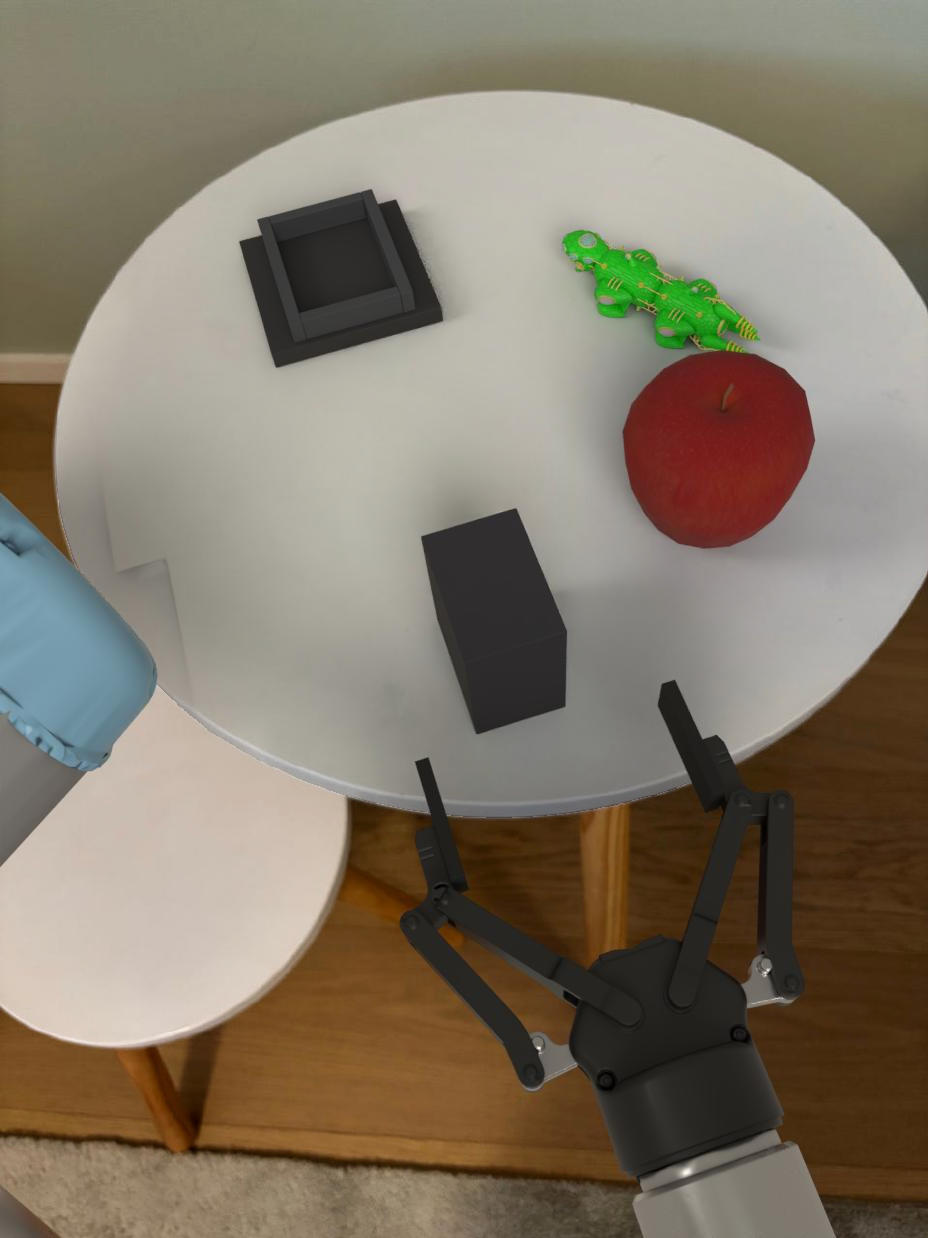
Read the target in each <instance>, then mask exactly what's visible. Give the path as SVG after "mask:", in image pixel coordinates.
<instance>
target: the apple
mask: <svg viewBox="0 0 928 1238" xmlns="http://www.w3.org/2000/svg"><path fill="white" fill-rule="evenodd" d="M621 433H622V443H623V451H624V452H623V454H624V463H625V467H626V472H627V477H628V482H629V486H630V489H631V491H632V494H633V495H634V497H635V499H636V501H637V502H638V504H639V507H640V508H641V510H642V512H643V514H644V515H645V516H646V518H648V520H649V521H650V523H652V525H653V526H654V527H655V528H656V530H657V531H658V532H660V533H662V534H663V535H664V536H665V537H667V538H669V539H670V540H671V541H673V542H674V543H676V544H678V545H681V546H687V547H692V548H693V547H694V548H698V549H718V548H729V547H732V546H734V545H736V544H739V543H741V542H744V541H746V540H748V539H750V538H752V537H754V536H755V535H756V534H758V533H759V532H760V531H761V530H763V529H764V528H765V527H767V526H768V525H769V524H771V523H772V522H773V521H775V519H776V518H777V517H778V515H779V514H780V512H781V511H782V510H783V508H784V507H785V506H786V505H787V503H788V502H789V500H790V499H791V498H792V496H793V494H794V493H795V491H796V489H797V487H798V485H800V482H801V481H802V480H803V479H802V478H803V477H804V475H805V474H806V471H807V470H808V467H809V463H810V461H811V457H812V453H813V450H814V446H815V442H816V436H815V431H814V425H813V420H812V414H811V411H810V406H809V401H808V397H807V393H806V390H805V389H804V387H802V386H801V385H800V383H799V382H798V381H797V380H796V379H795V378H794V377H793V376H792V375H791V374H790V373H789V371H787V369H785V368H784V367H782V366H780V365H778V364H776V363H774V362H772V361H770V360H768V359H766V358H764V357H762V356H760V355H759V354H756V353H749V352H747V353H743V352H734V351H726V350H719V351H714V350H711V351H706V352H699V353H698V352H697V353H692V354H689V355H687V356H685V357H683V358H681V359H679V360H677V361H675V362H673V363H671V364H670V365H668V366H666V367H664V368H663V369H661V370H660V372H658V373H657V374H656V375H655V376H654V377H653V378H652V380H650V381H649V382H648V383H647V384H646V385H645V386H644V388H643V389H642V390H641V391H640V392H639V394H638V395H637V397H636V398H635V399H634V400H633V401H632V403H631V404H630V408H629V410H628V413H627V417H626V419H625V422H624V425H623V428H622V432H621Z"/></svg>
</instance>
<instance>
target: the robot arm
mask: <svg viewBox="0 0 928 1238" xmlns="http://www.w3.org/2000/svg"><path fill="white" fill-rule="evenodd" d="M157 682H158V669H157V664H156V661H155V658H154V657H153V655H152V652H151V651H150V650H149V647H148V646H147V644H145V642H144V641H143V640H142V638H141V637H140V636H139V635H138V634H137V633H136V631H135V630H134V629H133V628H132V627H131V625H130V624H129V623H128V622H127V621H126V620H125V618H124V617H123V616H122V615H121V614H120V613H119V612H118V610H116V608H115V607H114V606H113V605H112V604H111V603H110V601H108V599H106V598H105V597H104V595H102V593H101V592H100V591H99V589H97V588H96V587H95V586H94V585H93V584H92V583H91V582H90V581H89V579H87V578H86V577H85V576H84V574H83V573H82V572H81V571H80V570H79V569H78V568H77V567H76V566H75V564H73V563H72V562H71V560H69V559H68V558H67V557H66V555H65V554H64V553H62V552H61V551H60V549H58V547H57V546H55V544H54V543H53V542H52V541H51V540H49V538H48V537H47V536H46V535H45V534H44V533H42V531H40V530H39V528H37V526H36V525H35V524H34V523H33V522H32V521H31V520H30V519H28V518H27V517H26V516H25V514H23V512H21V511H20V510H19V509H18V507H16V506H15V505H14V504H13V502H11V501H10V500H9V499H8V498H7V497H6V496H5V495H4V494H3V493H2V492H0V868H1V867H2V866H3V865H4V864H5V863H6V862H7V861H8V860H9V858H10V857H11V856H12V855H13V854H14V853H15V852H16V851H17V850H18V848H20V847H21V845H22V844H23V843H24V842H25V841H26V840H27V839H28V838H29V836H30V835H31V834H32V833H33V832H34V831H35V830H36V829H37V828H38V826H39V825H40V824H41V823H42V822H43V821H44V820H45V819H46V818H47V817H48V816H49V814H50V813H51V812H53V810H54V809H55V808H56V807H57V806H58V805H59V804H60V802H61V801H62V800H63V799H64V798H65V797H66V796H67V795H68V794H69V792H70V791H71V790H72V789H73V788H74V787H75V786H76V785H77V784H78V783H79V781H81V779H82V778H83V777H84V776H85V775H86V774H87V773H88V772H94V771H95V770H96V769H98V768H99V769H100V768H101V767H103V765H104V764H106V763H107V761H109V759H110V757H111V755H112V753H113V747H114V744H115V743H116V742H117V741H118V740H119V738H121V736H122V735H123V734H124V733H125V731H126V730H127V729H128V728H129V727H130V726H131V725H132V724H133V722H134V721H135V720H136V719H137V717H138V716H139V715H140V714H141V713H142V712H143V711H144V709H145V708H146V707H147V705H148V704H149V703H150V701H151V699H152V698H153V696H154V694H155V691H156V689H157V685H158V684H157ZM657 708H658V710H659V713H660V714H661V717H662V719H663V721H664V724H665V726H666V728H667V730H668V732H669V735H670V737H671V739H672V741H673V744H674V746H675V748H676V750H677V753H678V755H679V757H680V760H681V762H682V764H683V766H684V769H685V770H686V773H687V775H688V777H689V779H690V782H691V784H692V786H693V789H694V792H695V793H696V796H697V797H698V800H699V802H700V804H701V808H702V809H703V810H704V813H705V814H707V813H710V812H714V811H716V810H719V809H720V808H721V811H722V814H721V818H720V821H719V825H718V828H717V831H716V834H715V836H714V840H713V843H712V846H711V849H710V853H709V856H708V858H707V862H706V864H705V868H704V870H703V871H704V872H703V874H702V877H701V881H700V883H699V886H698V890H697V893H696V896H695V899H694V901H693V905H692V909H691V911H690V915H689V917H688V922H687V924H686V927H685V930H684V932H683V935H682V938H681V940H679V939H677V938H675V937H671V936H663V933H661V934H660V933H659V934H657V935H654V936H651V937H648V938H646V939H644V940H642V941H641V942H640V943H638V944H637V945H635V946H634V947H632V948H618V949H612V950H609V951H606V952H603V953H600V954H599V955H598V957H597V958H596V959H595V960H594V961H593V962H592V963H591V964H590V965H589V967H588V969H586V968H584V967H583V966H581V965H580V964H578V963H576V962H575V961H573V960H572V959H569V958H568V957H566V956H562V955H561V954H558V953H557V952H555V951H553V950H552V949H550V948H548V946H545V945H544V944H542V943H540V942H539V941H537V940H536V939H534V938H533V937H531V936H529V935H528V934H526V933H524V932H523V931H521V930H520V929H518V928H517V927H515V926H513V925H512V924H510V923H508V922H507V921H505V920H504V919H502V918H501V917H499V916H497V915H496V914H494V913H493V912H492V911H489V910H488V909H486V908H485V907H483V906H481V905H480V904H479V903H477V902H475V901H473V900H472V899H470V898H468V897H467V896H466V895H464V894H462V893H465V892H468V891H470V887H469V885H468V881H467V880H468V879H467V877H466V874H465V871H464V867H463V863H462V861H461V857H460V855H459V851H458V848H457V845H456V841H455V838H454V835H453V831H452V829H451V826H450V822H449V818H448V816H447V813H446V810H445V805H444V803H443V799H442V796H441V792H440V789H439V786H438V783H437V780H436V777H435V773H434V770H433V767H432V764H431V761H430V758H429V756H428V757H425V758H421V759H418V760H415V761H414V764H415V767H416V770H417V774H418V777H419V780H420V783H421V787H422V790H423V795H424V797H425V801H426V803H427V807H428V810H429V814H430V818H431V820H432V824H433V825H431V826H428V827H425V828H421V829H419V830H416V831H415V836H414V844H415V847H416V850H417V854H418V857H419V861H420V865H421V868H422V871H423V875H424V879H425V882H426V885H427V893H426V896H425V898H424V900H422V902H420V903H419V904H418V905H417V906H415V907H414V908H413V909H409V910H407V911H405V912H403V913H402V914H401V916H400V919H399V922H398V923H399V928H400V930H401V932H402V934H403V936H404V938H405V939H406V940H407V942H408V944H410V946H411V947H412V948H413V949H414V950H415V952H416V953H418V955H419V956H421V958H422V959H423V960H424V961H425V963H426V964H428V966H429V967H430V968H431V969H432V970H433V971H434V973H436V974H437V975H438V977H439V978H440V979H442V981H443V982H444V983H445V984H446V985H447V986H448V988H449V989H450V990H451V991H452V992H453V993H454V994H455V995H456V996H457V998H458V999H459V1000H460V1001H461V1002H462V1003H463V1004H464V1006H466V1008H468V1009H469V1010H470V1012H471V1013H472V1014H473V1015H474V1017H476V1019H477V1020H479V1022H480V1023H481V1024H482V1025H483V1026H484V1027H485V1029H486V1030H488V1032H489V1033H490V1034H491V1035H492V1036H493V1037H494V1038H495V1040H496V1041H498V1043H499V1044H500V1045H501V1046H502V1047H503V1049H504V1050H505V1051H506V1053H507V1056H508V1058H509V1061H510V1063H511V1065H512V1069H513V1070H514V1072H515V1073H514V1074H515V1075H516V1077H517V1080H518V1082H519V1084H520V1086H521V1088H522V1089H523V1090H524V1091H525V1092H527V1093H531V1094H533V1093H534V1094H535V1093H538V1092H539V1091H540V1090H542V1089H543V1088H544V1086H545V1084H546V1083H547V1082H549V1081H551V1080H553V1079H555V1078H557V1077H559V1076H561V1075H563V1074H565V1073H567V1072H569V1071H571V1070H573V1069H576V1068H578V1069H579V1070H580V1071H581V1072H582V1073H583V1074H584V1075H585V1077H586V1078H587V1079H588V1081H589V1082H590V1084H591V1087H592V1090H593V1092H594V1096H595V1098H596V1101H597V1104H598V1107H599V1110H600V1113H601V1116H602V1119H603V1121H604V1125H605V1129H606V1130H607V1134H608V1136H609V1139H610V1142H611V1146H612V1148H613V1151H614V1154H615V1157H616V1160H617V1163H618V1166H619V1170H620V1173H622V1174H623V1173H626V1175H627V1178H628V1179H630V1180H631V1179H634V1178H635V1180H636V1183H637V1184H639V1186H640V1188H641V1191H642V1192H640V1193H637V1194H635V1195H634V1197H633V1201H632V1203H631V1204H632V1207H633V1211H634V1213H635V1216H636V1219H637V1222H638V1225H639V1229H640V1231H641V1234H642V1238H837V1237H836V1234H835V1232H834V1229H833V1227H832V1225H831V1222H830V1220H829V1217H828V1215H827V1213H826V1210H825V1207H824V1204H823V1203H822V1201H821V1198H820V1196H819V1192H818V1191H817V1188H816V1186H815V1183H814V1181H813V1178H812V1176H811V1173H810V1171H809V1169H808V1166H807V1164H806V1161H805V1159H804V1157H803V1153H802V1151H801V1150H800V1147H799V1145H798V1144H797V1143H796V1142H793V1141H791V1140H787V1141H783V1142H782V1140H781V1138H780V1136H779V1134H778V1132H777V1129H775V1128H777V1127H781V1126H782V1125H783V1124H784V1122H783V1119H782V1118H781V1117H783V1116H785V1112H784V1110H783V1107H782V1105H781V1103H780V1100H779V1098H778V1096H777V1094H776V1091H775V1089H774V1086H773V1084H772V1081H771V1078H770V1077H769V1075H768V1072H767V1070H766V1067H765V1064H764V1063H763V1060H762V1058H761V1055H760V1053H759V1051H758V1047H757V1046H756V1044H755V1041H754V1038H753V1037H752V1034H751V1032H750V1029H749V1025H748V1017H747V1016H748V1015H747V1013H748V1012H747V1011H748V1009H752V1008H756V1007H761V1006H764V1005H765V1006H766V1005H771V1004H775V1005H777V1006H779V1007H786V1006H790V1005H791V1004H793V1003H794V1001H796V1000H797V999H798V998H799V997H800V996H802V994H803V993H804V991H805V988H806V982H805V978H804V975H803V971H802V969H801V966H800V963H799V960H798V957H797V954H796V952H795V949H794V946H793V901H794V897H793V896H794V895H793V894H794V890H793V889H794V829H795V827H794V825H795V824H794V823H795V822H794V821H795V801H794V798H793V796H792V794H791V793H790V792H788V791H787V790H784V789H775V790H774V791H772V792H758V791H753V790H751V789H749V788H748V786H746V784H745V783H744V781H743V779H742V776H741V774H740V773H739V770H738V768H737V766H736V763H735V762H734V759H733V758H732V755H731V753H730V752H729V749H728V747H727V745H726V742H725V741H724V740H723V739H722V738H721V737H719V735H718V734H715V735H711V736H708V737H704V738H703V737H702V735H701V733H700V730H699V728H698V726H697V724H696V722H695V720H694V718H693V715H692V713H691V711H690V709H689V707H688V705H687V702H686V700H685V698H684V696H683V694H682V692H681V689H680V687H679V685H678V682H677V681H676V679H672V680H669V681H666V682H663V683H661V685H660V690H659V696H658V700H657ZM750 825H751V826H760V829H759V858H758V860H759V861H758V889H757V924H756V926H757V927H756V951H757V955H756V956H755V957H753V958H752V960H751V962H750V963H749V964H748V967H747V980H746V981H745V982H743V983H741V982H740V981H739V980H737V978H735V977H734V976H732V975H731V974H729V973H728V972H726V971H725V970H723V969H722V968H721V967H719V966H717V965H716V964H715V963H713V962H712V961H710V960H709V959H708V958H709V957H708V956H709V953H710V950H711V946H712V944H713V941H714V938H715V934H716V931H717V929H718V928H717V927H718V924H719V919H720V916H721V912H722V909H723V906H724V903H725V899H726V896H727V894H728V890H729V886H730V883H731V880H732V877H733V873H734V870H735V867H736V865H737V860H738V859H739V858H738V857H739V855H740V852H741V848H742V844H743V841H744V838H745V834H746V831H747V828H748V826H750ZM445 925H448V926H449V927H451V928H452V929H454V930H456V931H457V932H459V933H461V934H462V935H463V936H465V937H467V938H468V939H470V940H471V941H473V942H475V943H476V944H477V945H479V946H480V947H482V948H484V949H485V950H487V951H488V952H490V953H492V954H493V955H495V956H497V957H498V958H500V959H501V960H502V961H504V962H506V963H507V964H509V965H511V966H512V967H514V968H515V969H516V970H518V971H520V972H521V973H523V974H524V975H526V976H528V977H529V978H531V979H532V980H534V981H535V982H537V983H539V985H541V986H543V987H545V988H546V989H547V990H549V991H550V993H552V994H553V995H555V996H556V997H557V998H558V999H560V1000H562V1001H563V1002H565V1003H566V1004H568V1005H570V1006H571V1007H573V1008H575V1013H574V1016H573V1020H572V1023H571V1027H570V1030H569V1035H568V1039H567V1040H568V1042H566V1043H563V1044H558V1043H556V1042H554V1041H553V1040H552V1039H551V1038H550V1037H549V1036H548V1035H547V1034H546V1033H545V1032H544V1031H540V1030H535V1031H531V1032H528V1030H527V1029H526V1027H525V1026H524V1024H523V1023H522V1021H521V1019H519V1018H518V1017H517V1015H516V1013H514V1011H512V1009H511V1008H510V1007H509V1006H508V1005H507V1004H506V1003H505V1002H504V1001H503V1000H502V999H501V998H500V997H499V996H498V994H497V993H495V991H494V990H493V989H492V988H491V987H490V986H489V985H488V984H487V983H486V982H485V980H483V978H482V977H481V976H480V975H479V974H478V972H476V971H475V969H473V968H472V967H471V965H470V964H469V963H468V962H467V961H466V960H465V959H464V958H463V957H462V956H461V955H460V954H459V952H458V951H457V950H455V948H454V947H453V946H452V945H451V944H450V943H449V942H448V941H447V939H446V938H445V937H444V936H443V935H442V934H441V933H440V932H439V930H441V929H442V928H443V927H444V926H445ZM0 1238H62V1237H61V1236H60V1235H59V1234H58V1233H57V1232H56V1231H54V1230H53V1229H52V1228H51V1227H50V1226H49V1225H48V1224H46V1222H44V1221H43V1220H42V1219H41V1218H39V1216H37V1215H36V1214H35V1213H34V1212H33V1211H32V1210H30V1209H29V1208H28V1207H27V1206H26V1205H25V1204H23V1202H21V1201H20V1200H19V1199H18V1198H16V1197H15V1196H14V1195H13V1194H12V1193H11V1192H9V1191H8V1189H6V1188H5V1187H4V1186H3V1185H1V1184H0Z"/></svg>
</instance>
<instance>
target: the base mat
mask: <svg viewBox="0 0 928 1238" xmlns="http://www.w3.org/2000/svg"><path fill="white" fill-rule="evenodd" d="M403 214H404V213H403V211H402V209H401V207H400V205H399V202H398V199H391V200H387V201H384V202H380V203H379V202H378V201H377V199H376V195H375V193H374V191H373V189H372V188H369V189H365V190H362V191H359V192H355V193H351V194H346V195H343V196H340V197H336V198H332V199H329V200H324V201H321V202H318V203H313V204H310V205H306V206H302V207H299V208H295V209H291V210H287V211H284V212H280V213H276V214H272V215H269V216H264V217H260V218H257V219H256V221H257V223H258V224H257V225H258V228H259V231H260V235H257V236H254V237H250V238H246V239H242V240H239V246H240V250H241V253H242V257H243V260H244V264H245V267H246V271H247V274H248V279H249V281H250V284H251V289H252V291H253V295H254V299H255V302H256V306H257V310H258V312H259V316H260V319H261V323H262V327H263V330H264V334H265V337H266V340H267V344H268V347H269V351H270V354H271V357H272V360H273V363H274V367H275V368H279V367H284V366H287V365H290V364H295V363H298V362H303V361H305V360H308V359H313V358H316V357H319V356H323V355H327V354H330V353H334V352H339V351H341V350H344V349H348V348H351V347H355V346H360V345H362V344H366V343H369V342H373V341H377V340H381V339H384V338H387V337H391V336H394V335H398V334H402V333H406V332H409V331H412V330H416V329H420V328H423V327H427V326H431V325H435V324H438V323H441V322H444V316H443V309H442V306H441V303H440V300H439V298H438V296H437V293H436V291H435V289H434V287H433V284H432V281H431V279H430V277H429V275H428V272H427V269H426V267H425V265H424V262H423V260H422V257H421V255H420V252H419V250H418V248H417V245H416V243H415V241H414V239H413V236H412V233H411V231H410V228H409V227H408V224H407V222H406V219H405V217H404V215H403Z"/></svg>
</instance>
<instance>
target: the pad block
mask: <svg viewBox="0 0 928 1238" xmlns="http://www.w3.org/2000/svg"><path fill="white" fill-rule="evenodd" d="M529 537H530V536H529V535H528V532H527V530H526V528H525V525H524V523H523V520H522V517H521V516H520V513H519V511H518V509H517V508H516V507H515V508H511V509H508V510H505V511H501V512H497V513H494V514H491V515H488V516H485V517H481V518H478V519H474V520H471V521H468V522H464V523H460V524H457V525H453V526H451V527H447V528H443V529H441V530H437V531H433V532H430V533H427V534H423V535H421V536H420V539H421V544H422V549H423V555H424V560H425V565H426V570H427V575H428V580H429V584H430V585H429V586H430V590H431V594H432V600H433V605H434V610H435V615H436V620H437V623H438V626H439V629H440V632H441V634H442V637H443V640H444V644H445V647H446V649H447V652H448V655H449V658H450V661H451V664H452V667H453V669H454V674H455V676H456V679H457V682H458V685H459V688H460V690H461V694H462V697H463V699H464V702H465V705H466V708H467V711H468V714H469V717H470V721H471V723H472V725H473V729H474V733H475V734H476V735H480V734H483V733H487V732H489V731H492V730H495V729H499V728H503V727H506V726H509V725H512V724H516V723H519V722H521V721H524V720H528V719H531V718H534V717H538V716H540V715H544V714H546V713H547V714H548V713H550V712H554V711H556V710H559V709H564V708H565V707H566V704H567V703H566V701H567V700H566V699H567V698H566V697H567V659H568V657H567V656H568V655H567V654H568V653H567V651H568V650H567V649H568V630H567V627H566V625H565V622H564V620H563V618H562V615H561V613H560V610H559V608H558V605H557V602H556V601H555V598H554V596H553V593H552V591H551V589H550V586H549V584H548V581H547V579H546V576H545V573H544V571H543V569H542V566H541V564H540V562H539V560H538V557H537V554H536V552H535V550H534V547H533V545H532V543H531V539H530V538H529Z"/></svg>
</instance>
